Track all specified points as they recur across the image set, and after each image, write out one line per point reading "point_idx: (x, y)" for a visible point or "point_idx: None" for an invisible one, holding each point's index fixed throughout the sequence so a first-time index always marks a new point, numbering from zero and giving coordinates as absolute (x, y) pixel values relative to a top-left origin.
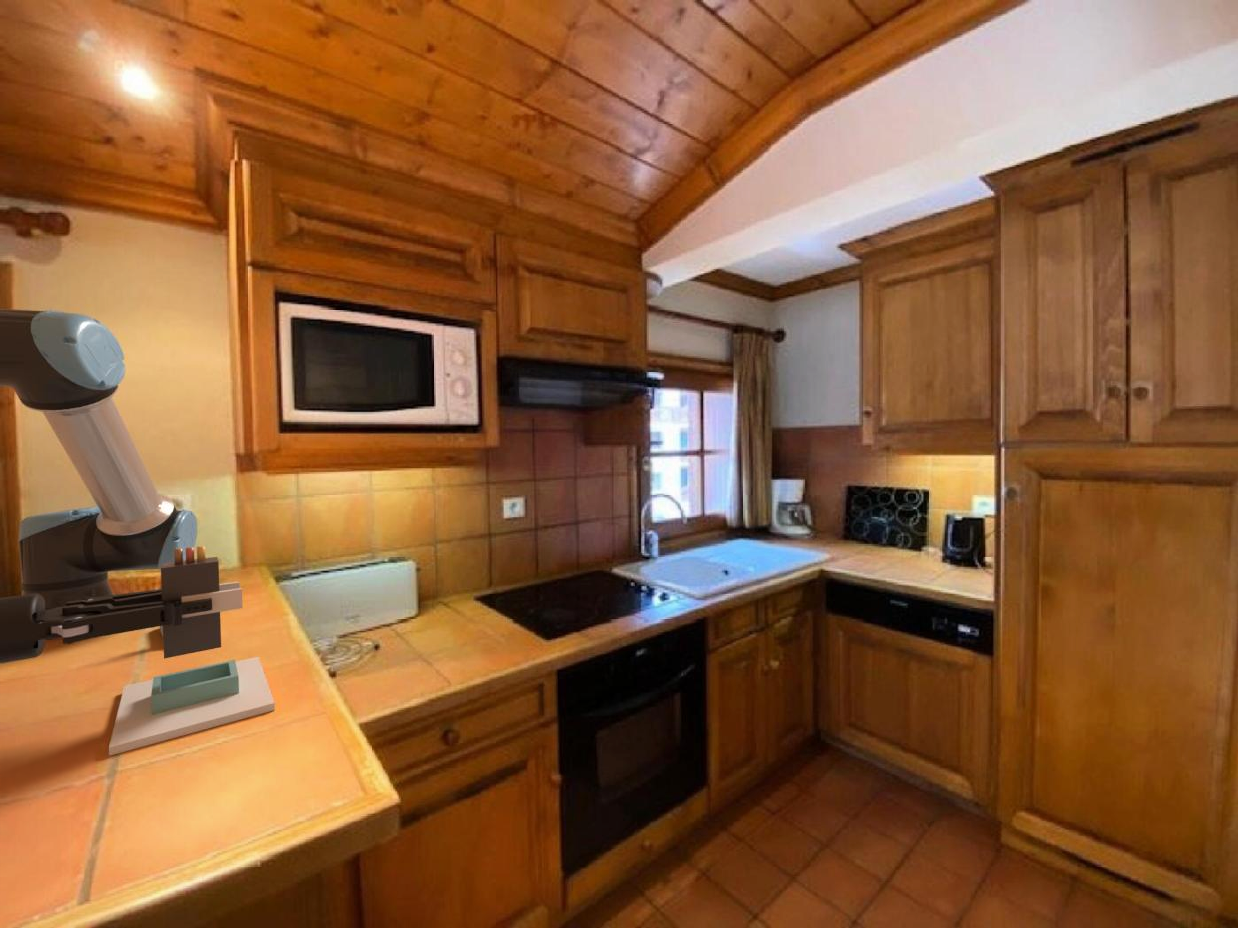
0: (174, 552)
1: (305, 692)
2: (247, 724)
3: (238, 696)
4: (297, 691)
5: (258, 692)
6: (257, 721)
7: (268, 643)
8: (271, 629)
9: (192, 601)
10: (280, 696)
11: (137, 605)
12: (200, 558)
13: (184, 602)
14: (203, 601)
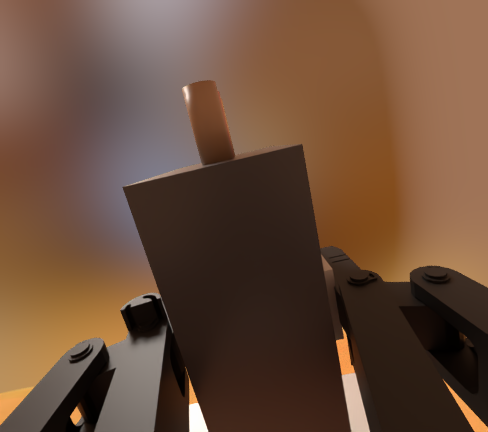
0: (208, 97)
1: (347, 344)
2: (464, 406)
3: (358, 421)
4: (339, 353)
5: (349, 390)
6: (451, 392)
7: (79, 413)
8: (8, 415)
9: (333, 269)
10: (350, 371)
11: (428, 391)
12: (231, 144)
13: (337, 281)
14: (343, 253)
